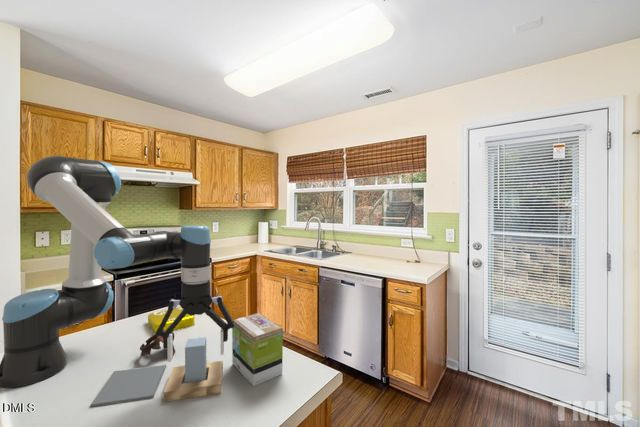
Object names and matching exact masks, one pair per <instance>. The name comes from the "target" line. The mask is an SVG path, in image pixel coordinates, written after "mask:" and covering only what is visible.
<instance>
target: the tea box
mask: <svg viewBox="0 0 640 427" xmlns="http://www.w3.org/2000/svg"><path fill="white" fill-rule="evenodd" d="M233 321H234V327H233V328H231V330H232V333H231V336H232V338H231V339H232V341H231V345H232V347H231V349H232V350H231V351H232V357H231V358H232V360H231V362H232V364H233V365H234V367H235V368H236V369H237V370H238V371H239V372H240V373H241V374H242V375H243V377H244V378H246V380H247V381H248V382H249V383H250V384H251V385H252V386H253V387H256V386H258V385H261V384H262V383H265V382H268V381H270V380H273V379H274V378H276V377H278V376H280V375H283V367H284V366H283V357H284V356H283V352H284V349H283V347H284V346H283V344H284V343H283V342H284V340H283V339H284V336H283V334H284V333H283V332H284V331H283V330H284V328H283V327H282V326H280V325H279V324H278V323H276V322H274V321H273V320H271V319H270V318H268V317H267V316H265V315H264V314H262V313H260V312H258V313H253V314H250V315H246V316H242V317H239V318H236V319H233Z"/></svg>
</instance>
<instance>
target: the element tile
mask: <svg viewBox="0 0 640 427" xmlns="http://www.w3.org/2000/svg"><path fill="white" fill-rule="evenodd" d="M167 310H168V309H166V310H162V311H156V312H152V313H149V314H148V315H147V326H150V327H149V328H150V330H151V332H153V334H154V333H156V331H157V330H158V328H159V326H160V324H161V322H162V320H163V318H164V316H165V314H166V312H167ZM182 310H183V308H182V307H181V306H180V307H176V308H175V309H173V311H172V313H171V315H170V317H169V319H168V321H167V323H166V325H165V327H164V328H163V330H166V329H167V328H168V327H169V326H170V325H171V324H172V322H173V321H174V320H175V319H176V318H177V317H178V315H179V314H180V313H181V312H182ZM190 326H191V327H193V326H195V315H192V316H190V315H188V314H186V316H185V317H184V318H183V319H182V320H181V321H180V322H179V323H178V325H177V326H176V327H175V328H174V329H173V331H172V332H174V330H175V331H179V330H182V328H183V329H186V327H187V328H189V327H190ZM178 329H179V330H178Z"/></svg>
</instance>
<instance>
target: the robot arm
mask: <svg viewBox="0 0 640 427" xmlns="http://www.w3.org/2000/svg"><path fill="white" fill-rule="evenodd" d="M26 181H27V185H28V188H29V189H30V191H31V192H32V193H33V194H34V195H35V197H37V198H38V199H39V200H40V201H42V202H45V203H50V205H52V206H53V207H54V208H55V210H57V211H58V212H59V213H60V214H62V216H63V217H65V219H67V221H69V222H70V224H71V225H70V226H71V227H70V242H69V243H70V246H69V261H68V277H67V278H65V279H64V280H63V281H62V283H61V290H60V291H59V290H58V289H56V288H43V289H42V288H41V289H39V290H38V289H37V290H36V289H35V290H33V291H28V292H26V293H23V294H20V295H17V296H15V297H12V298H11V299H9V301H7V302H6V303H5V304H4V307H3V315H2V318H1V319H2V323H3V347H4V349H3V350H4V351H3V352H4V353H3V356H2V357H1V358H2V359H1V361H0V388H9V389H10V388H17V387H22V386H27V385H31V384H35V383H38V382H41V381H43V380H47V379H49V378H51V377H53V376H54V375H56V374H58V373H60V372H61V371H62V370H64V369H65V368H66V367H67V364H68V355H67V353H66V352H65V350H64V348H63V346H62V343H61V342H60V330H62V329H65V328H68V327H72V326H74V325H77V324H80V323H83V322H86V321H89V320H94V319H96V318H97V317H100V316H102V315H104V314H105V313H107V312H108V311H109V309H111V307H112V304H113V301H114V290H112V289H113V288H112V286H111V284H110V283H109V282H107V279H106V278H105V277H104V276H102V269H105V270H115V269H122V268H123V269H124V268H127V267H130V266H135V265H141V264H143V263H145V264H146V263H151V262H155V261H159V260H165V259H178V260H180V267H181V268H180V272H181V273H180V275H181V276H180V278H181V280H180V281H181V282H182V283H181V285H180V287H181V288H180V289H181V292H180V293H181V296H180V297H181V298H180V299H175V298H171V299H170V300H169V302H168V305H167V309H166V310H167V312H166V314H165V316H164V318H163V320H162V322H161V324H160V326H159V328H158V330H157V331H156V333H155V334H154V335H156V336H162V337H163V343H162V344H163V345H162V347H163V349H164V350H167V353H168V354H167V362H169V363H170V362H172V360H173V358H174V357H173V356H174V355H173V345H174V341H173V338H172V334H170V333H171V332H174V331H173V329H174V328H175V327H176V326H177V325H178V323H179V322H180V321H181V320H182V319H183V318H184V317H185V316H186V314H188V315H190V316H192V315H194V316H195V315H198V316H201V315H203V314H205V315H206V316H207V317H209V318H210V319H211V320H212V321H213V322H214V323H215V325H217V326H218V327H219V328H220V356H223V355H224V351H225V346H224V345H225V342H228V340H229V339H228V338H229V333H228V332H229V330H230V329H232V328H233V327H234V321H233V320H234V319H233V318H232V316H231V314H230V313H229V310H228V309H227V307H226V305H225V304H224V302H223V296H222V295H221V294H219V295H217V296H214V297H212V295H211V280H210V279H211V242H212V241H211V232H210V228H209V227H208V226H206V225H201V224H199V225H195V224H194V225H184V226H182V227H180V232H177V231H166V230H161V231H160V230H158V231H157V230H156V231H152V232H151V233H141V234H133V233H132V232H131V231H130V230H128V229H127V228H126V227H125V226H123V225H122V223H120V222H119V221H118V220H117V219H115V217H114V216H112V215H111V214H110V213H109V212H108V211H106V207H107V206H109V204H111V203H112V197H115V196H116V195H118V194H119V192H120V190H121V188H122V187H121V186H122V180H121V175H120V173H119V172H118V170H117V169H116V167H115V166H114V165H112V164H111V163H109V162H105V161H100V160H95V159H94V160H93V159H84V158H79V157H78V158H77V157H68V156H62V155H51V156H46V157H44V158H41V159H39V160H37V161H36V162H35V163H33V164H32V165H31V166H30V168H29V170H28V172H27V174H26ZM212 303H214V304H215V305H216V306H218V309H219V311H220V312H221V314H222V316H223V318H224V320H223V318H222V317H221V316H219V315H218V313H217V312H216V311H214V309H213V308H212V306H211V305H212ZM178 306H180V307H182V308H183V310H182V312H181V313H180V314H179V315H178V317H177V318H176V319H175V320H174V321H173V322H172V324H171V325H170V326H169V327H168V328H167V329H166V330H163V328H164V327H165V325H166V323H167V321H168V319H169V317H170V315H171V313H172V311H173V309H175V308H178Z"/></svg>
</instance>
